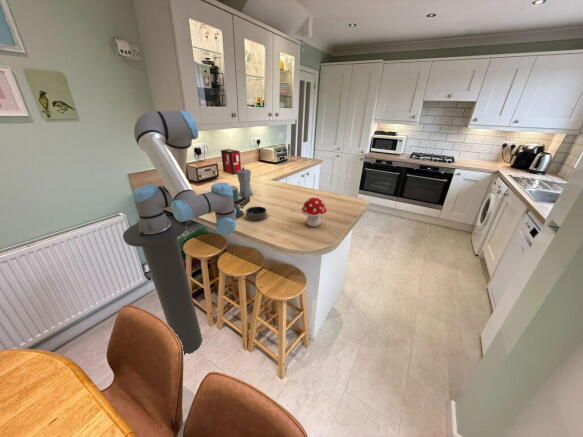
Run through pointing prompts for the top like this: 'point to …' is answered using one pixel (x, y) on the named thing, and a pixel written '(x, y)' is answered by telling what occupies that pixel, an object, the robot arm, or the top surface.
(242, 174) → the moka pot
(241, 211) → the coaster
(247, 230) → the top surface
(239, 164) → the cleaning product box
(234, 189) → the can
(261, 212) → the bowl
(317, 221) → the decorative mushroom
